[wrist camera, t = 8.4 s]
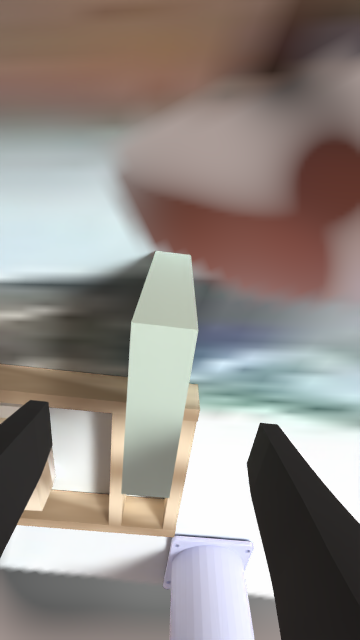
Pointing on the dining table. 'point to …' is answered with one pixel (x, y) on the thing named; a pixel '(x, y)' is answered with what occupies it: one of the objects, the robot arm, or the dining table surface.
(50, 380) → the rack
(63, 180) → the dining table surface
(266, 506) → the robot arm
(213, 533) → the dining table surface
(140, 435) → the pale green slab
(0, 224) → the dining table surface
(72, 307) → the dining table surface
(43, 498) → the offcut upper
